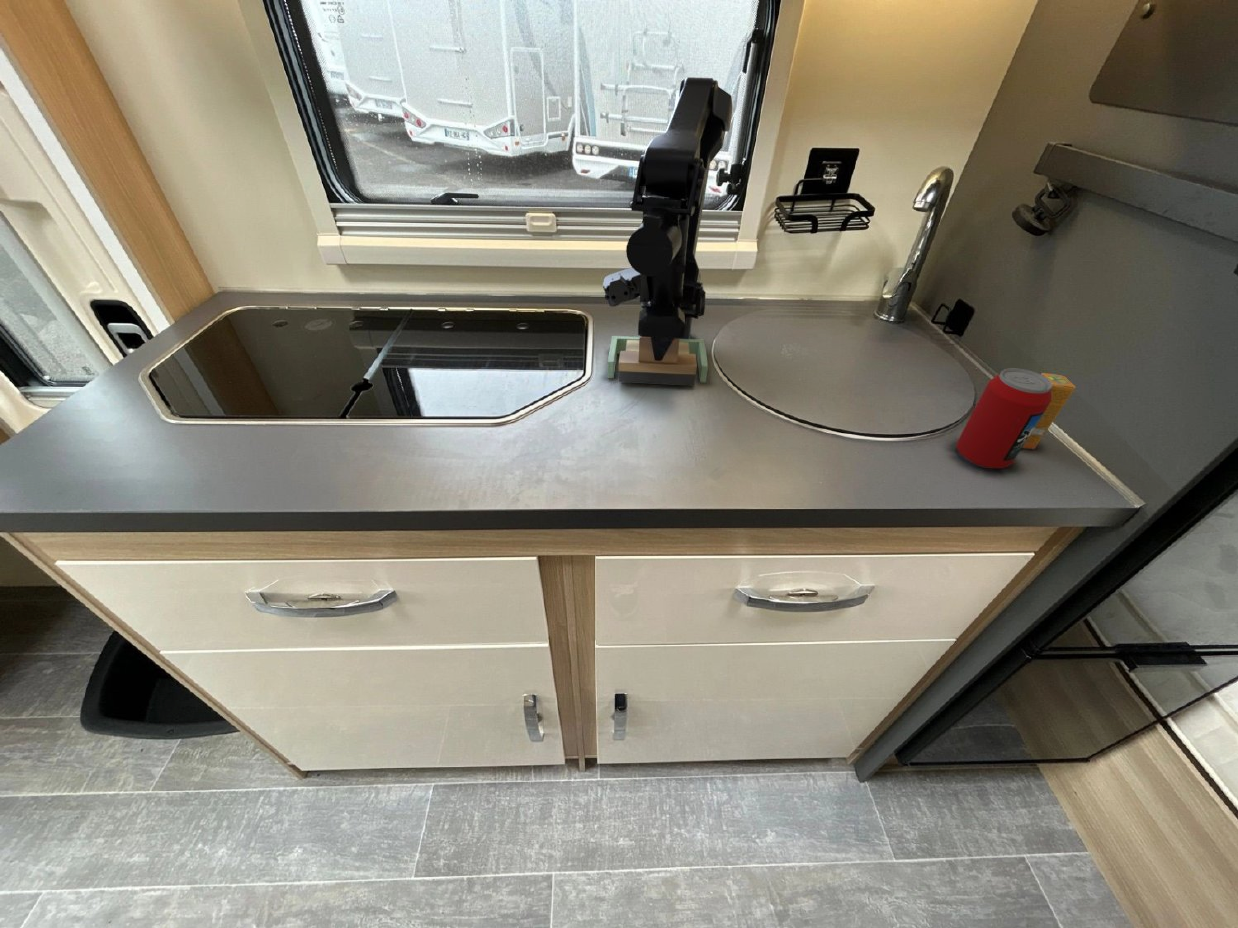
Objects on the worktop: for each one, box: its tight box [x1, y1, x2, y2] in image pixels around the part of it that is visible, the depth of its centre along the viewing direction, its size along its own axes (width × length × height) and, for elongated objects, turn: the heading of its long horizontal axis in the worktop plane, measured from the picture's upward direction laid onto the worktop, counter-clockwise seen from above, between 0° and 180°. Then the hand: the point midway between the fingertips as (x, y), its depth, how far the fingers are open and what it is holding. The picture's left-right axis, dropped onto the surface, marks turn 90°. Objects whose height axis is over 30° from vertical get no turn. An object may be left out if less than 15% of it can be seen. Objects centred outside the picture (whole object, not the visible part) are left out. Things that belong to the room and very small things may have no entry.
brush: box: [618, 336, 698, 387], centre depth 82 cm, size 4×12×8 cm, turn 86°
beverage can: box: [956, 367, 1052, 469], centre depth 67 cm, size 7×7×12 cm
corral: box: [607, 335, 709, 383], centre depth 88 cm, size 10×16×3 cm, turn 86°
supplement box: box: [1022, 372, 1077, 450], centre depth 70 cm, size 3×4×10 cm
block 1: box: [626, 340, 639, 352], centre depth 87 cm, size 4×4×4 cm
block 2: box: [678, 342, 689, 354], centre depth 87 cm, size 4×4×4 cm
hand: (658, 355), depth 82 cm, fingers closed on brush, 3 cm apart
